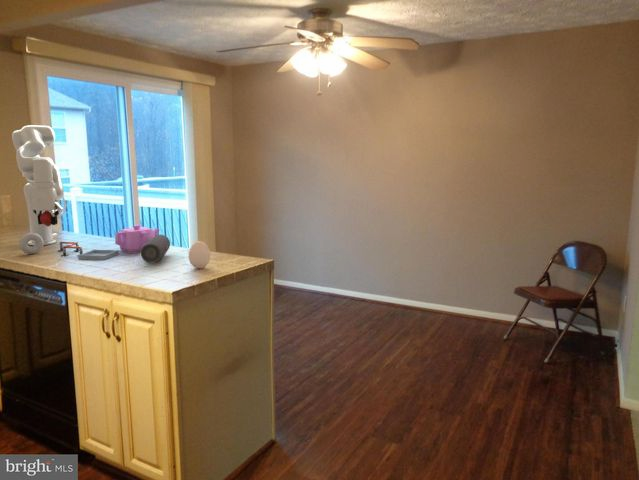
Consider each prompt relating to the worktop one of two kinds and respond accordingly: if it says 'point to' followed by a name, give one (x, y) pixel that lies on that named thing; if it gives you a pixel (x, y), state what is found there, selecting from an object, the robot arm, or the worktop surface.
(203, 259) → the egg
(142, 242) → the teakettle
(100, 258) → the dish
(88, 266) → the worktop surface
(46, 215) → the onion
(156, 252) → the bluetooth speaker
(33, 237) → the donut
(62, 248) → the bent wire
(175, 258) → the worktop surface
